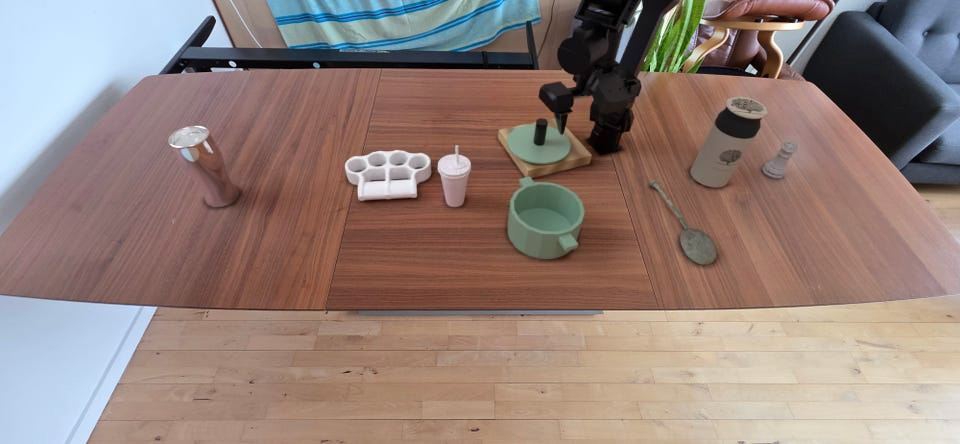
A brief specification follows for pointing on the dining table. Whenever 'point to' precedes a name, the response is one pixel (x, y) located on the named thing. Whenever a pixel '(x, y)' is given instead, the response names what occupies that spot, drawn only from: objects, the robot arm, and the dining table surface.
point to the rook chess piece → (780, 161)
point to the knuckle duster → (388, 174)
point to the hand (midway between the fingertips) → (581, 129)
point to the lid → (538, 143)
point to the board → (572, 160)
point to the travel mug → (728, 141)
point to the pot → (544, 219)
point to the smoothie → (454, 177)
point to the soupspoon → (692, 237)
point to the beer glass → (204, 164)
